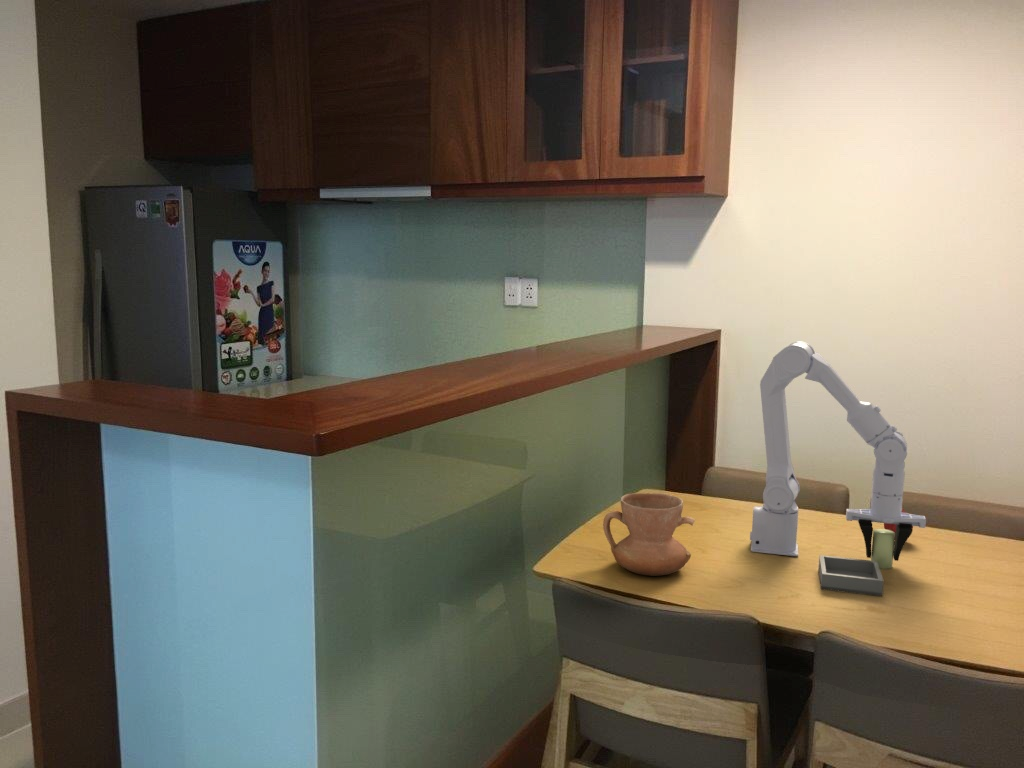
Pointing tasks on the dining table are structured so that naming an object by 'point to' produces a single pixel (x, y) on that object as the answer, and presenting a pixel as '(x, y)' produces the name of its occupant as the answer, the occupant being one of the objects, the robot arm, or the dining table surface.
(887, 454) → the robot arm
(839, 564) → the tray
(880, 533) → the pale green cylinder
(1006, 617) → the dining table surface
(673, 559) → the ceramic jug
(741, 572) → the dining table surface
